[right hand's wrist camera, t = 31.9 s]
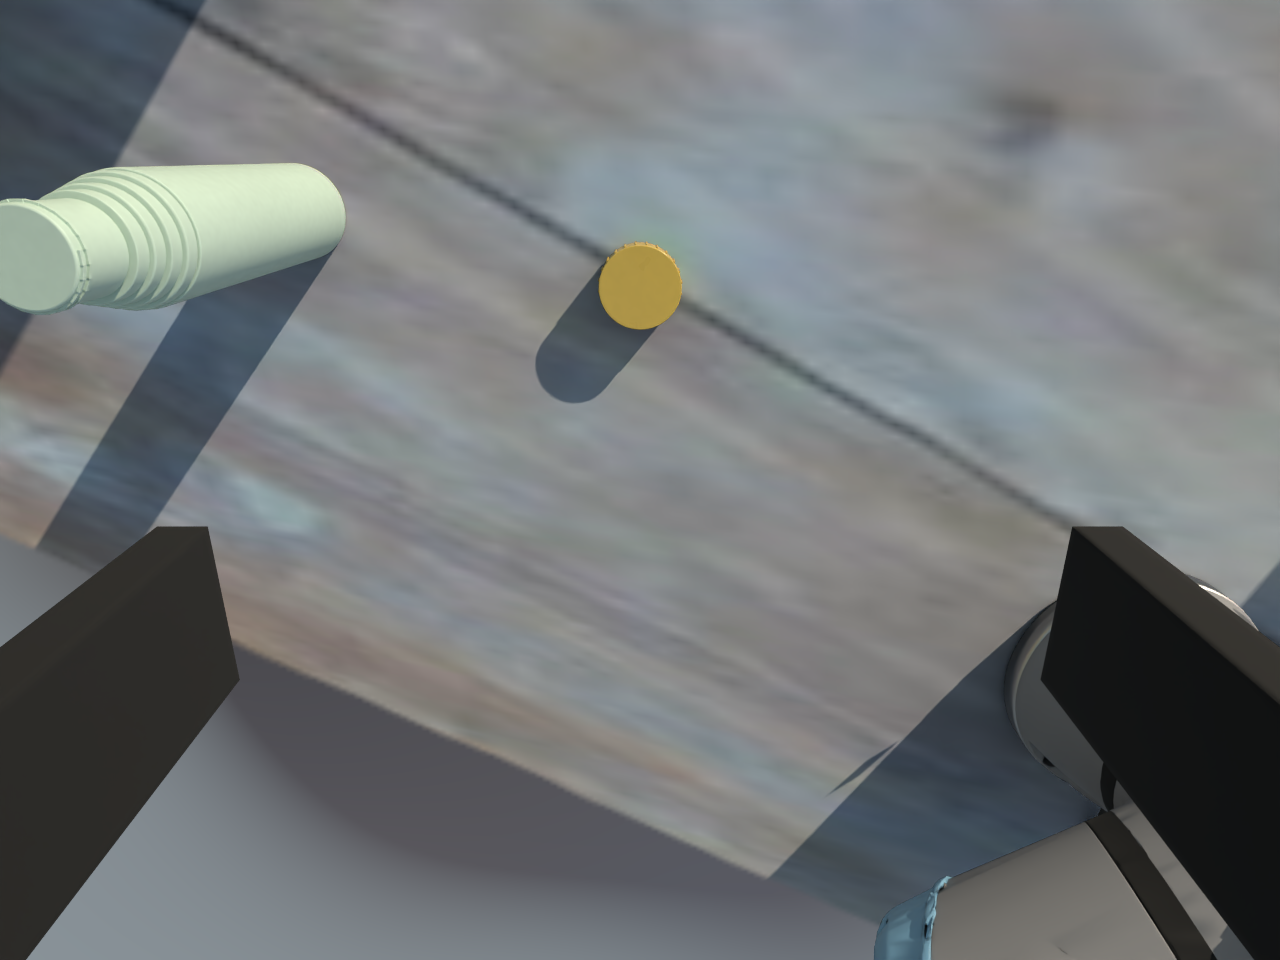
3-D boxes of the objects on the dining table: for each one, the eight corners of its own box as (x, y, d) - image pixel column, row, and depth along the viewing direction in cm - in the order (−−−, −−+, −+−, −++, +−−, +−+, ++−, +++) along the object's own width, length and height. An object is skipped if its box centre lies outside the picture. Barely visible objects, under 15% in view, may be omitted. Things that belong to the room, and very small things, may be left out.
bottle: (261, 260, 44) (-35, 342, 25) (245, 163, 42) (-88, 171, 23) (351, 259, 44) (125, 340, 25) (339, 162, 42) (84, 169, 23)
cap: (653, 339, 46) (653, 346, 44) (584, 297, 45) (582, 302, 43) (696, 269, 44) (698, 274, 43) (626, 224, 43) (625, 227, 42)
